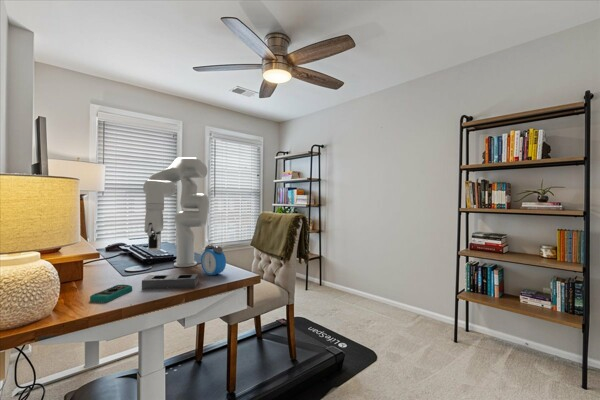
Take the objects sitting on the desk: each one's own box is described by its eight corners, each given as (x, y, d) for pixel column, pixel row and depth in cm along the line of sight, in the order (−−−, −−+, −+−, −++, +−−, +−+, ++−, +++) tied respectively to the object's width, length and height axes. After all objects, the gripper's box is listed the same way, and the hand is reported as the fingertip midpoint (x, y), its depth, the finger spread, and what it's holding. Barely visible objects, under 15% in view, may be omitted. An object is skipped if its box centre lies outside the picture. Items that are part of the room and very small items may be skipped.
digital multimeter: (133, 291, 124) (133, 284, 124) (106, 303, 109) (106, 296, 109) (118, 290, 125) (118, 283, 125) (88, 302, 110) (88, 295, 110)
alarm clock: (200, 273, 150) (200, 245, 150) (210, 271, 156) (210, 243, 155) (217, 277, 143) (217, 247, 143) (226, 275, 148) (226, 246, 148)
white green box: (151, 248, 134) (151, 233, 133) (160, 248, 134) (160, 233, 134) (148, 250, 130) (148, 235, 129) (157, 250, 130) (157, 235, 130)
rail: (148, 283, 132) (148, 275, 132) (198, 282, 136) (198, 273, 136) (141, 289, 125) (141, 280, 124) (194, 287, 128) (194, 278, 128)
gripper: (153, 206, 139) (153, 244, 140) (137, 208, 123) (138, 251, 123) (169, 206, 140) (169, 244, 140) (156, 208, 123) (156, 250, 124)
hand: (154, 246), depth 132 cm, fingers closed on white green box, 4 cm apart
